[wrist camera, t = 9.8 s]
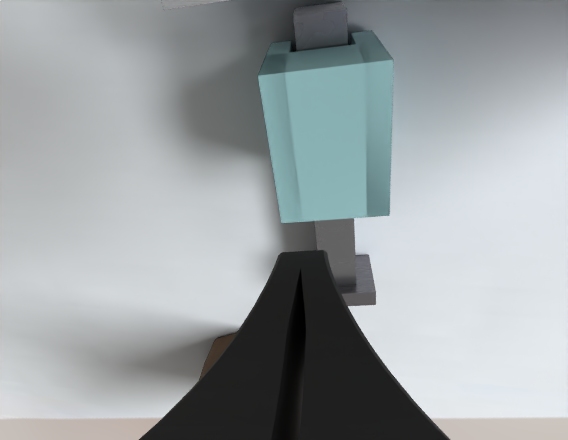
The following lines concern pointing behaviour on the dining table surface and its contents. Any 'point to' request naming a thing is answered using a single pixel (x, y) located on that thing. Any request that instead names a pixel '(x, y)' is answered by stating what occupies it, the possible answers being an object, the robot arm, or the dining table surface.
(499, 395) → the dining table surface
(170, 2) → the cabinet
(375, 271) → the dining table surface
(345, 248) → the rail
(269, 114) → the block
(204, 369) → the beer bottle
